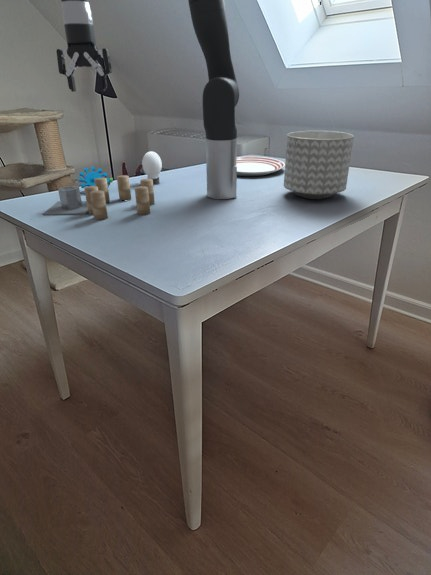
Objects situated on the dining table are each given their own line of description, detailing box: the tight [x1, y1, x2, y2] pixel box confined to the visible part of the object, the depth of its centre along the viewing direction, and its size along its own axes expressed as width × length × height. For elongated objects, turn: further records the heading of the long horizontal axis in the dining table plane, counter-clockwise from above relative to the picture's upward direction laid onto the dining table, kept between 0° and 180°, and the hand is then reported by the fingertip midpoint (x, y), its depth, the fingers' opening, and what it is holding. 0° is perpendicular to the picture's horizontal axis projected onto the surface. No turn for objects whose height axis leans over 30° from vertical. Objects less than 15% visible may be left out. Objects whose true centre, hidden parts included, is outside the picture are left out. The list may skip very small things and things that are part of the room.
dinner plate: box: [236, 156, 285, 177], centre depth 157 cm, size 28×27×3 cm
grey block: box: [58, 185, 83, 210], centre depth 113 cm, size 5×6×6 cm
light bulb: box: [141, 150, 163, 186], centre depth 137 cm, size 7×7×11 cm
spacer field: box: [83, 174, 156, 221], centre depth 113 cm, size 18×22×7 cm
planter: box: [283, 130, 355, 200], centre depth 119 cm, size 19×19×18 cm
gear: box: [77, 165, 114, 189], centre depth 131 cm, size 11×6×10 cm
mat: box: [42, 200, 89, 216], centre depth 114 cm, size 12×12×1 cm
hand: (88, 91), depth 112 cm, fingers open, 8 cm apart
